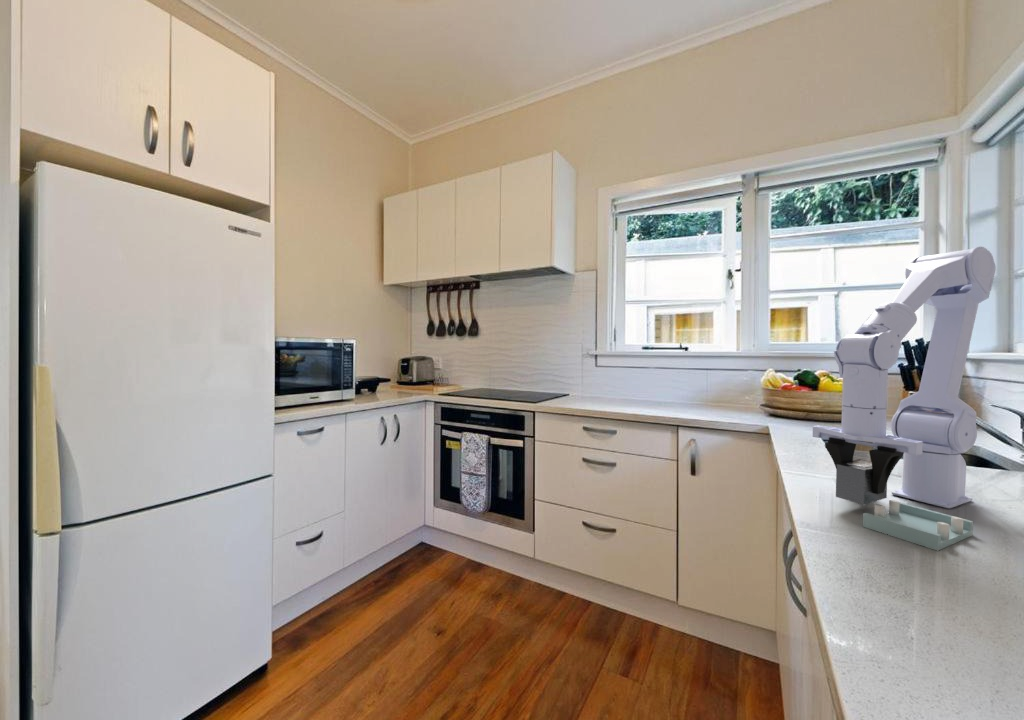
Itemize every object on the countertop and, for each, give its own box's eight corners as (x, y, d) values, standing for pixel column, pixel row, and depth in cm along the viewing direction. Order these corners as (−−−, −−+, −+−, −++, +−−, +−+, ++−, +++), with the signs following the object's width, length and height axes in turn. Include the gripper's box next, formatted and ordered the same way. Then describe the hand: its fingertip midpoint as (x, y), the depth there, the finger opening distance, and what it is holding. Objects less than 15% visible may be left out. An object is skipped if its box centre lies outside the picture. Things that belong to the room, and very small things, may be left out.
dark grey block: (858, 490, 75) (859, 458, 75) (886, 497, 71) (887, 464, 71) (835, 496, 72) (836, 463, 71) (864, 504, 68) (865, 469, 68)
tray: (899, 514, 70) (899, 497, 70) (972, 535, 62) (973, 515, 62) (862, 526, 65) (863, 508, 65) (937, 550, 57) (938, 529, 57)
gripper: (803, 402, 76) (801, 479, 76) (907, 414, 63) (904, 507, 63) (826, 400, 79) (824, 474, 79) (930, 411, 66) (927, 499, 66)
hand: (861, 488), depth 71 cm, fingers closed on dark grey block, 4 cm apart
